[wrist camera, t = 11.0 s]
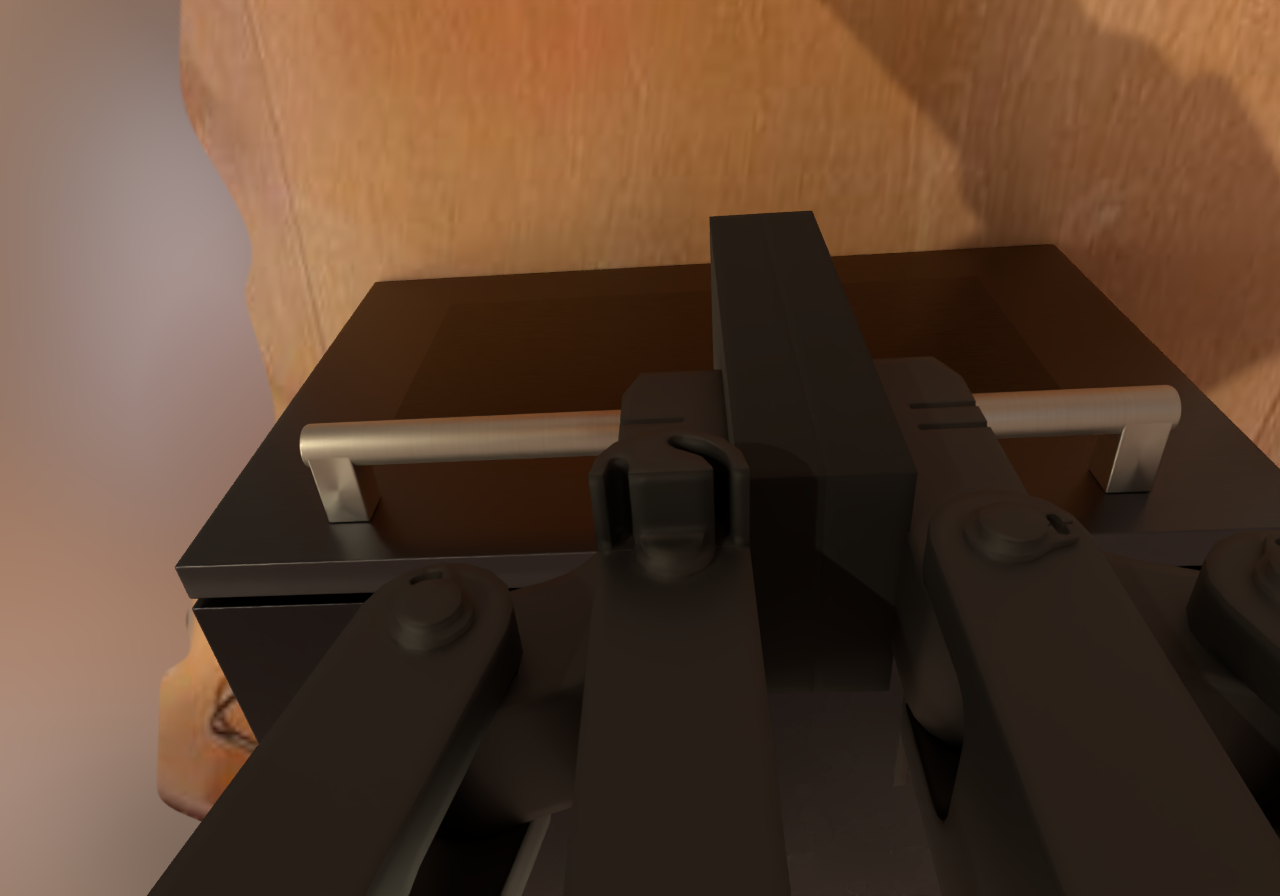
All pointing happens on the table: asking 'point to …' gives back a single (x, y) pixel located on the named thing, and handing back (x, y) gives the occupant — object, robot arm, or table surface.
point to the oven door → (683, 341)
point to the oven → (807, 780)
